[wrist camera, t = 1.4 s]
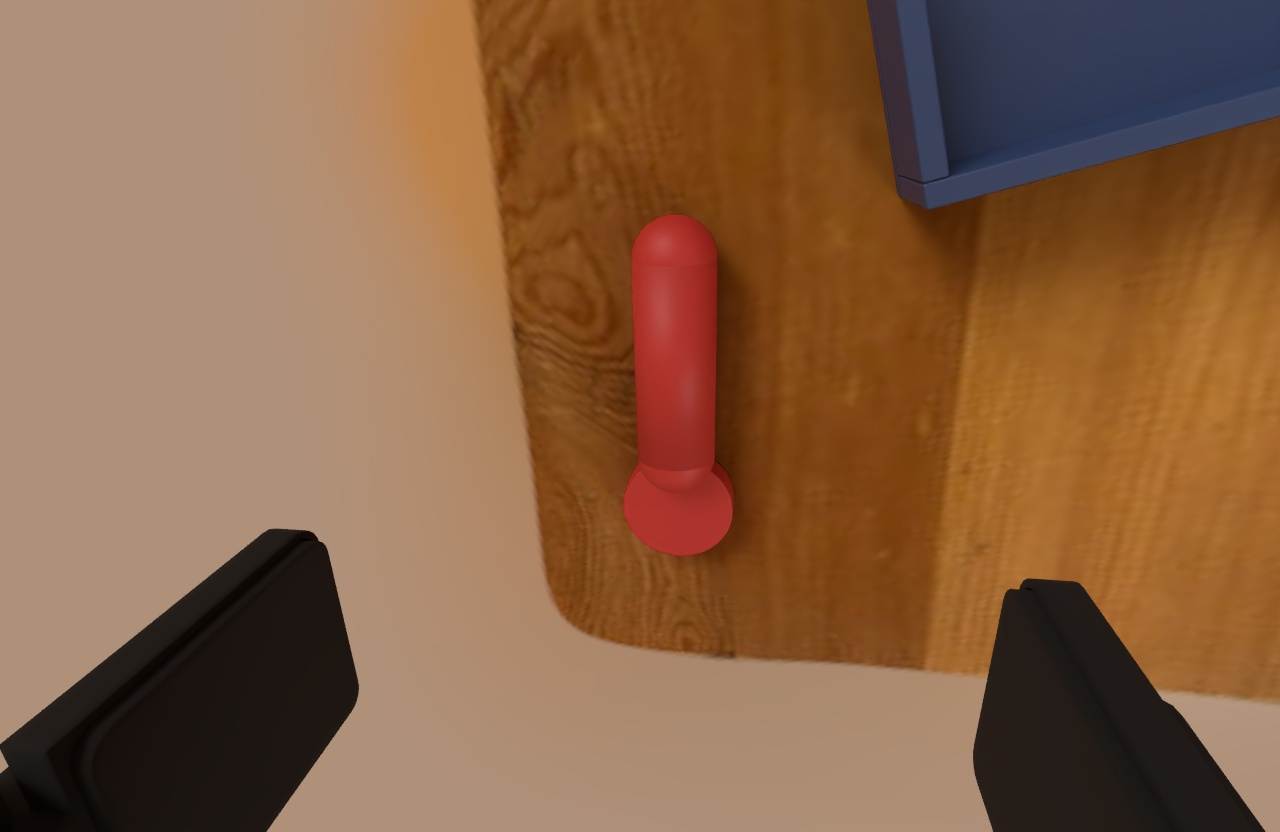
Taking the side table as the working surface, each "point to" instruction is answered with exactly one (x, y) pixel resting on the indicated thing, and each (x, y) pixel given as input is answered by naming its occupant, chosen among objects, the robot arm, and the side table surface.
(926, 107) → the blue bin
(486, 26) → the side table surface
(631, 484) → the red spoon
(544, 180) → the side table surface
